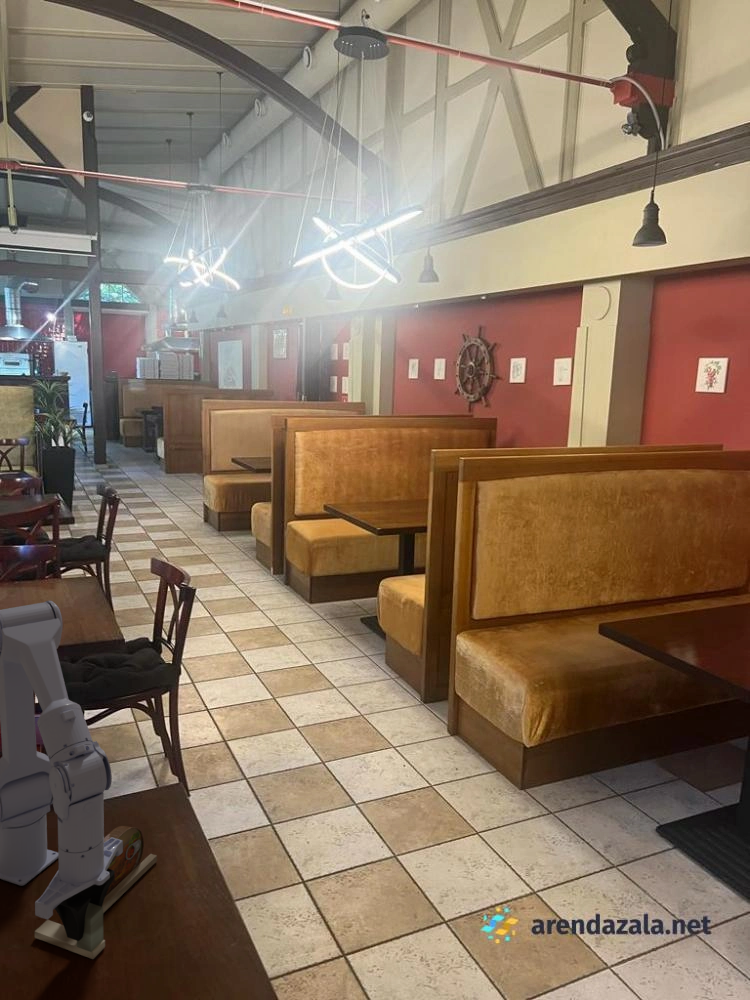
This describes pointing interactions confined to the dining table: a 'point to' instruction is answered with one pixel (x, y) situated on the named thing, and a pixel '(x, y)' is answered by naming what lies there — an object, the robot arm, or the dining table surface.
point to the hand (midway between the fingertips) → (82, 929)
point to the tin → (125, 853)
